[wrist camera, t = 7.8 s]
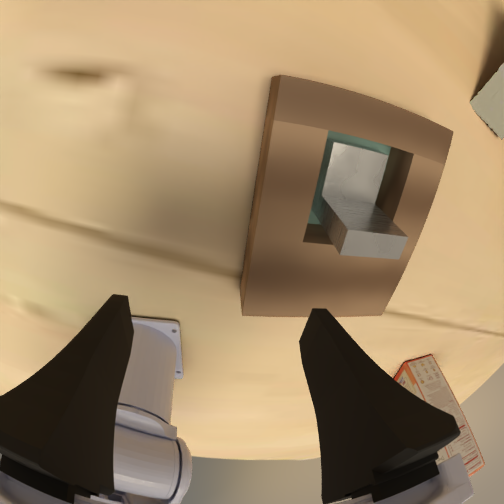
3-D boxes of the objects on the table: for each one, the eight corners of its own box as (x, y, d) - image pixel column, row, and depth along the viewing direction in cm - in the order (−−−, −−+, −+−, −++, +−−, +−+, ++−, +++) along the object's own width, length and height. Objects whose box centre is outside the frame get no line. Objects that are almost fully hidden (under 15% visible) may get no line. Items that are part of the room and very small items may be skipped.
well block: (368, 293, 25) (381, 315, 22) (239, 289, 23) (242, 315, 20) (428, 122, 16) (453, 131, 14) (272, 77, 14) (281, 74, 12)
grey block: (359, 213, 20) (398, 259, 15) (310, 207, 19) (339, 255, 14) (377, 149, 17) (429, 179, 12) (325, 137, 17) (367, 162, 12)
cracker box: (400, 397, 41) (433, 491, 23) (372, 405, 41) (403, 506, 23) (434, 351, 33) (487, 465, 16) (404, 360, 33) (455, 486, 15)
